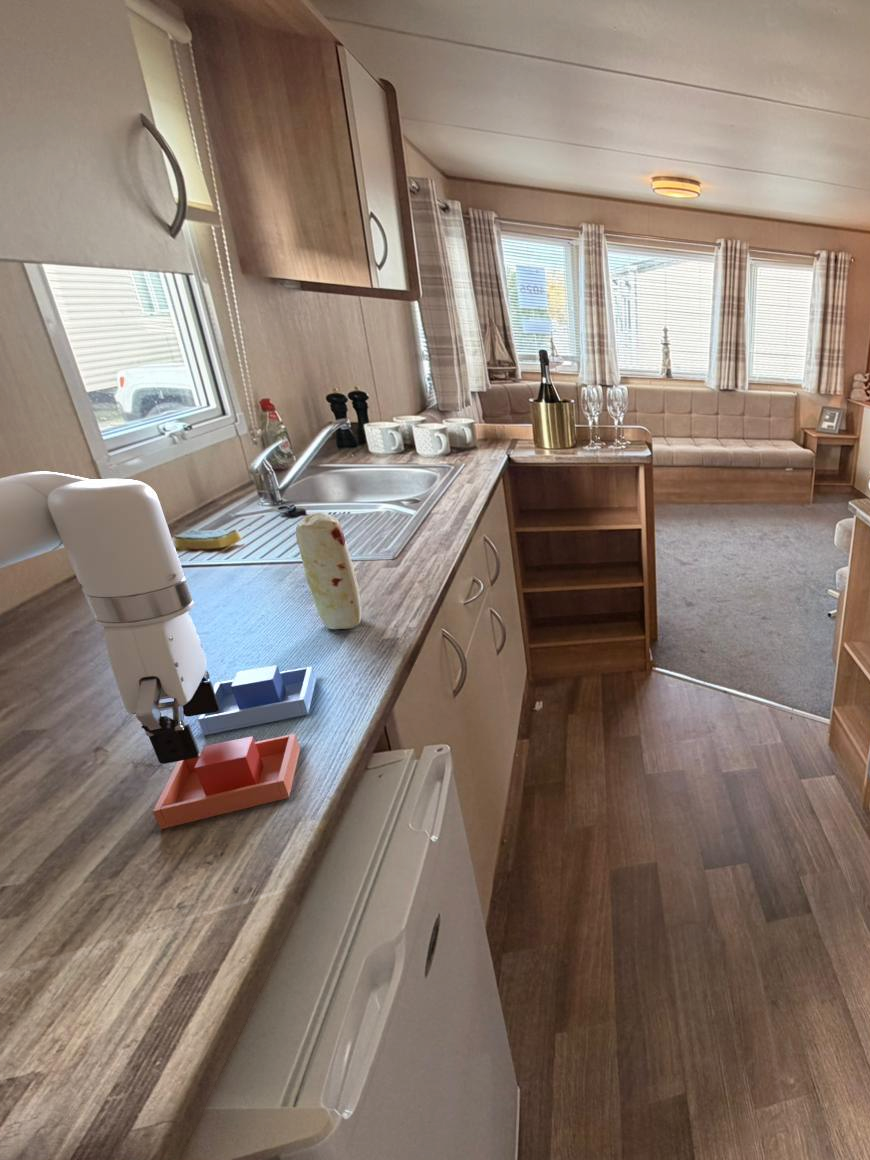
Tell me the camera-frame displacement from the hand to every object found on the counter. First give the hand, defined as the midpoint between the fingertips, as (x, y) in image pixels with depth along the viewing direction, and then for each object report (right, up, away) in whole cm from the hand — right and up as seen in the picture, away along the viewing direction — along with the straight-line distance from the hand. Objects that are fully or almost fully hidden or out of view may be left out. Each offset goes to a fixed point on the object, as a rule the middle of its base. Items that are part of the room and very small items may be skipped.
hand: (192, 735), depth 73 cm
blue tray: (-6, +1, +17) cm, 18 cm away
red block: (+3, -6, +2) cm, 7 cm away
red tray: (+3, -6, +2) cm, 8 cm away
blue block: (-6, +1, +17) cm, 18 cm away
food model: (-12, +11, +41) cm, 44 cm away
